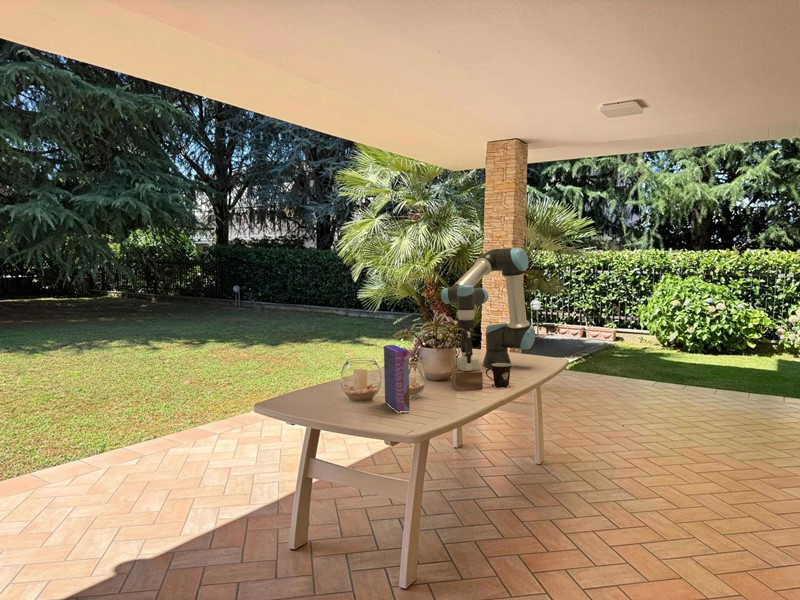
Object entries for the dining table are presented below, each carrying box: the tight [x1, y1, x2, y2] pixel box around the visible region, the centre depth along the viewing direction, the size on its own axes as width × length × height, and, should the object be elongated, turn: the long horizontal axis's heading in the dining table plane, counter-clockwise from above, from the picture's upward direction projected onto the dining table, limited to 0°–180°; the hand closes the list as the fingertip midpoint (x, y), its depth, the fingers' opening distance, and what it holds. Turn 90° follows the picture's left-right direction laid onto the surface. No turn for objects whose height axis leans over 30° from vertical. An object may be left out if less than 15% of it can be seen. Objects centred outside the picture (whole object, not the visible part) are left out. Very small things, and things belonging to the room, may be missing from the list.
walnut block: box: [451, 367, 484, 392], centre depth 255 cm, size 12×12×8 cm
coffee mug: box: [485, 363, 512, 388], centre depth 256 cm, size 12×9×10 cm
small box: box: [456, 356, 480, 371], centre depth 254 cm, size 8×8×5 cm
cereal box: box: [383, 344, 411, 412], centre depth 221 cm, size 17×5×24 cm, turn 18°
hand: (466, 368), depth 254 cm, fingers closed on small box, 9 cm apart
